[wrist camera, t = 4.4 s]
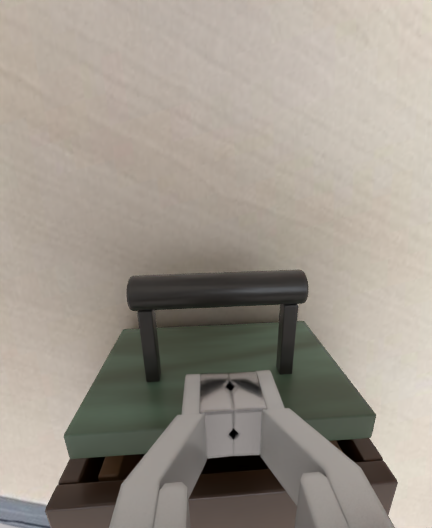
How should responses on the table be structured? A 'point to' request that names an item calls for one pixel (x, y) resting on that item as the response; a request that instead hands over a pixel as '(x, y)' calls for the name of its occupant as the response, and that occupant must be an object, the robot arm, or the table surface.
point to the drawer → (210, 368)
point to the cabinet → (207, 494)
